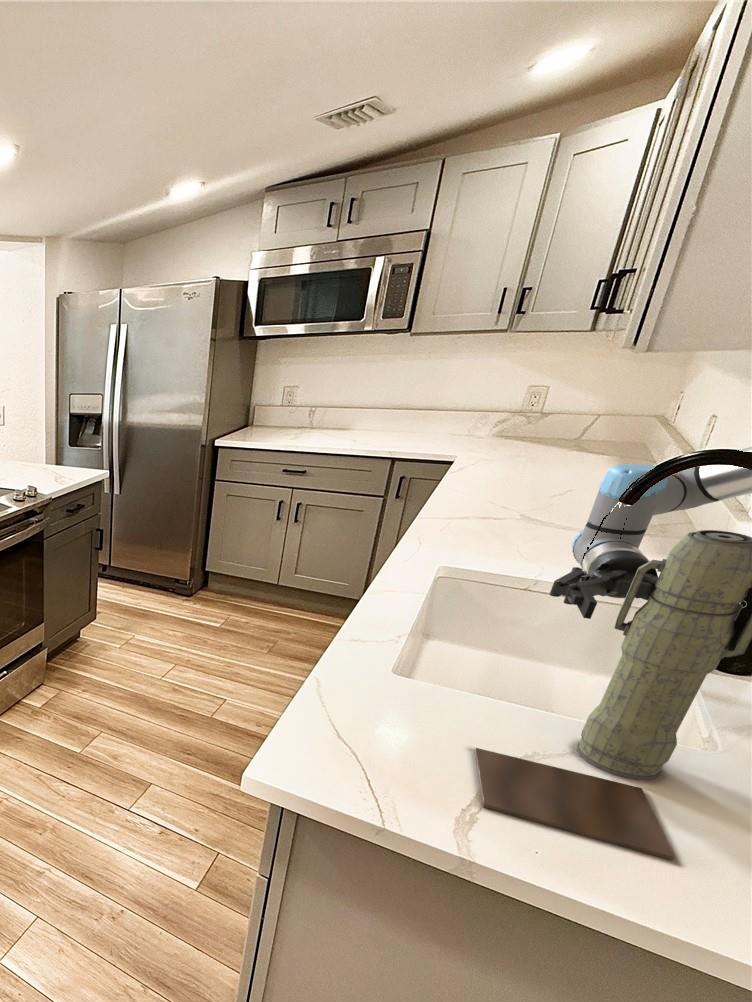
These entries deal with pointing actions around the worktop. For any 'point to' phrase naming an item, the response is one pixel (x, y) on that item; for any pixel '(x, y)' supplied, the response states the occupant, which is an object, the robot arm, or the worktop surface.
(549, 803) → the board
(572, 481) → the worktop surface
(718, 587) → the thermos
